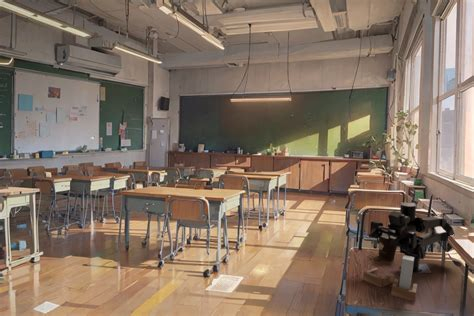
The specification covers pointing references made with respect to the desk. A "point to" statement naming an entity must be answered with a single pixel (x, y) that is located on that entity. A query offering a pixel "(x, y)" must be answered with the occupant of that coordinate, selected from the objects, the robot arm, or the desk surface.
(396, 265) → the desk surface
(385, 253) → the coffee mug
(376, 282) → the end cap
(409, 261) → the slat
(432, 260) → the desk surface
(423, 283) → the desk surface
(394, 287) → the end cap
